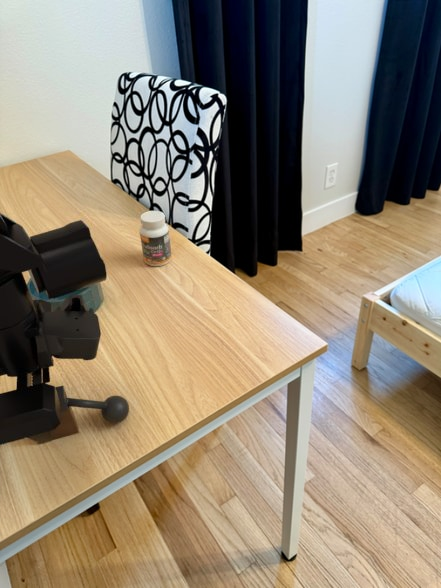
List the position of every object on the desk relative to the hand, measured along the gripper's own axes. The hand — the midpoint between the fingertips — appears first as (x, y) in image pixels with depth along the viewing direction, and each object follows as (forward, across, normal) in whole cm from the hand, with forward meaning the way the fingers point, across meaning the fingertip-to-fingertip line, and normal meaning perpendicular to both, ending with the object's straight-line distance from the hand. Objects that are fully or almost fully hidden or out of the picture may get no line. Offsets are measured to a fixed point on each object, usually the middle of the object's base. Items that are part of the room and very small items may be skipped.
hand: (46, 409), depth 52 cm
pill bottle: (+5, +36, -21) cm, 42 cm away
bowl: (+5, +28, -3) cm, 29 cm away
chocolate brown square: (+5, 0, 0) cm, 5 cm away
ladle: (+5, 0, -4) cm, 6 cm away
